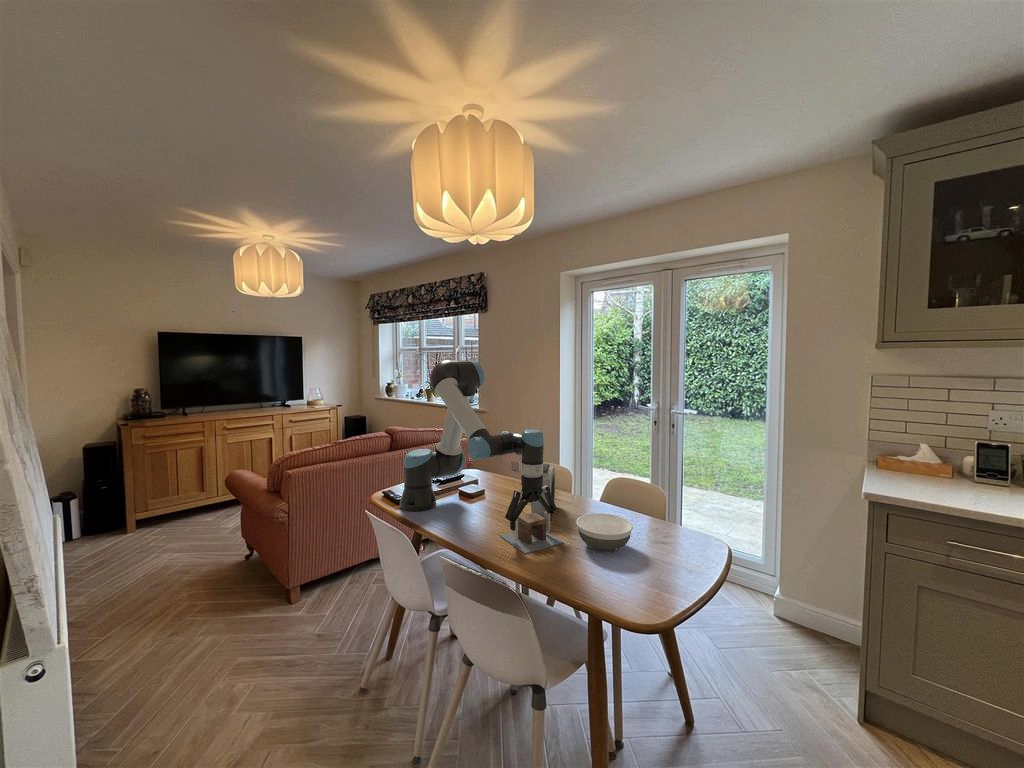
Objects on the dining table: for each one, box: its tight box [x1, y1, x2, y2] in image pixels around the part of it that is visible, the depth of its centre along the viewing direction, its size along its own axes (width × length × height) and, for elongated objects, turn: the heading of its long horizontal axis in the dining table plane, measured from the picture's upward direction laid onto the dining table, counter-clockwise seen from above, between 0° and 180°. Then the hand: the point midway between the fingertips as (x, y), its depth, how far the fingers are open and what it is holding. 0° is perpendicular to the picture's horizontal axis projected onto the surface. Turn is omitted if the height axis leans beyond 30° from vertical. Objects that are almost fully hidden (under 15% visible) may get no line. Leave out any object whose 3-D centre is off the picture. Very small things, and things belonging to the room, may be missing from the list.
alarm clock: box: [530, 463, 556, 517], centre depth 175 cm, size 21×8×20 cm, turn 168°
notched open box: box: [517, 512, 547, 545], centre depth 148 cm, size 8×7×8 cm
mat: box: [499, 531, 564, 555], centre depth 148 cm, size 16×16×1 cm
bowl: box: [575, 512, 634, 553], centre depth 143 cm, size 19×19×8 cm
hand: (531, 534), depth 148 cm, fingers open, 13 cm apart
